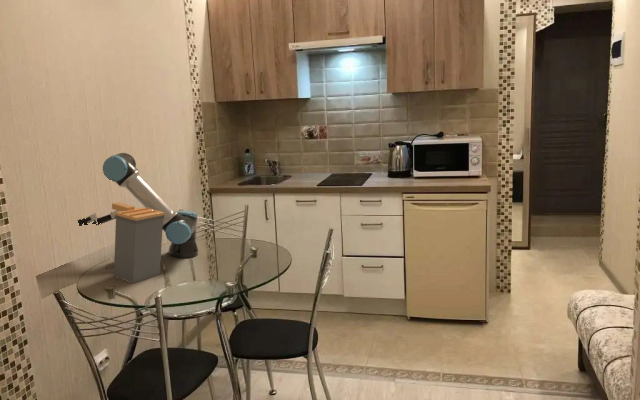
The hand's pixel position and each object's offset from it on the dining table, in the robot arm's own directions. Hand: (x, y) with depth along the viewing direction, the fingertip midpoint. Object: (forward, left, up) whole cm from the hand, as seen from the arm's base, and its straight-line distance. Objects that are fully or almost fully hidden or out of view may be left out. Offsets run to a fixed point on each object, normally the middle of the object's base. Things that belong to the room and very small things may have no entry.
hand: (108, 213), depth 236 cm
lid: (-8, +13, +3) cm, 16 cm away
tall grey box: (-10, +17, -25) cm, 32 cm away
